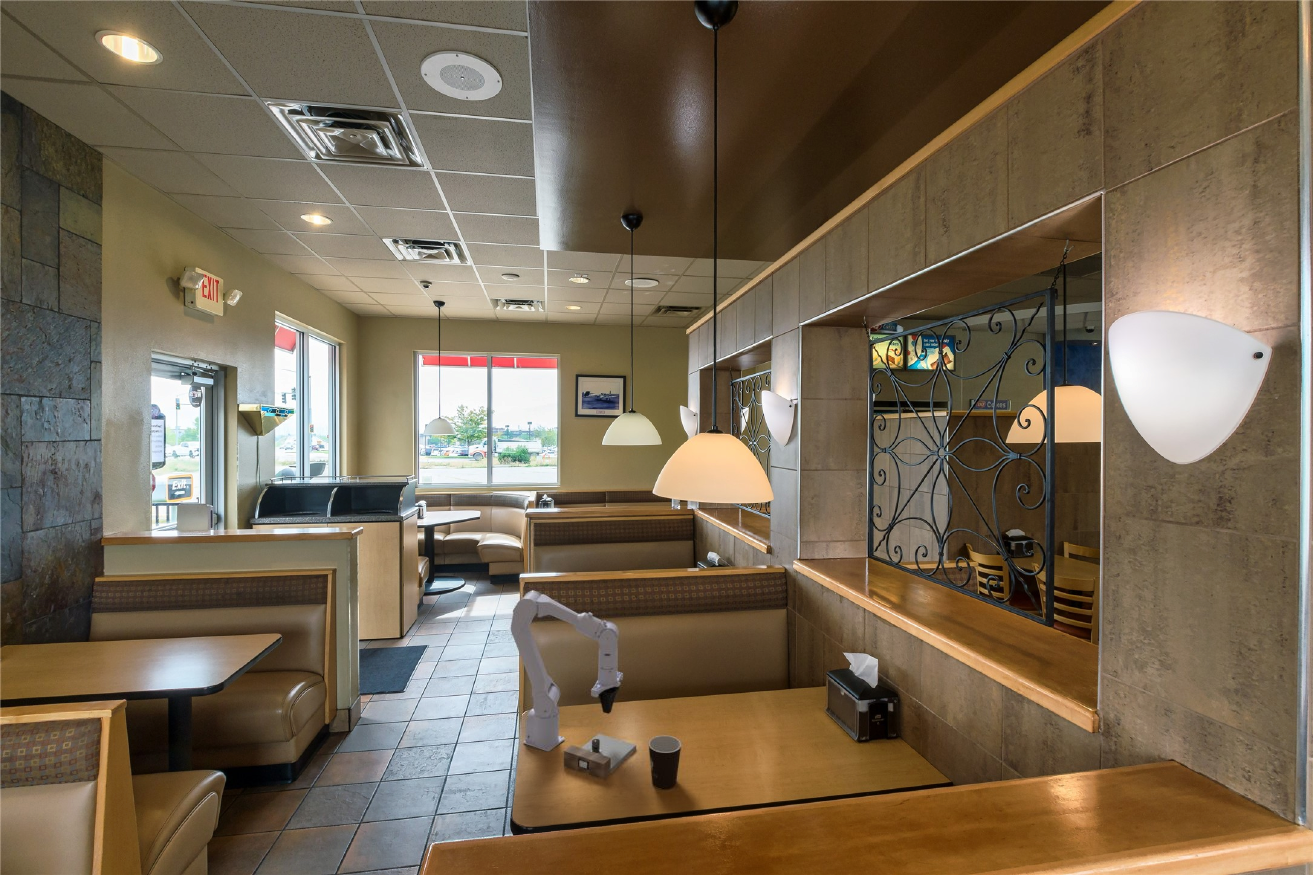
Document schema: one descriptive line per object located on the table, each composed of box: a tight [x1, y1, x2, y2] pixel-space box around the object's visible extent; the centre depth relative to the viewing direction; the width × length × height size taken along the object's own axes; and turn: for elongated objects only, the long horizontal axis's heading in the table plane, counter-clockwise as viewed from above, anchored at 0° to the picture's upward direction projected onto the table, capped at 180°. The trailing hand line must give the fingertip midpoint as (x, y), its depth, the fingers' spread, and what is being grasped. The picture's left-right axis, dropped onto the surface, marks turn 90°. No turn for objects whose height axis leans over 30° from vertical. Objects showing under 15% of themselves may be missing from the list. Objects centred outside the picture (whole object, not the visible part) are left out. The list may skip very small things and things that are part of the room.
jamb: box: [563, 744, 612, 781], centre depth 152 cm, size 13×4×4 cm, turn 63°
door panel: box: [581, 733, 637, 773], centre depth 159 cm, size 13×14×3 cm
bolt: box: [579, 738, 601, 769], centre depth 153 cm, size 2×7×4 cm, turn 153°
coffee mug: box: [648, 734, 682, 790], centre depth 148 cm, size 12×9×10 cm
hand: (606, 712), depth 165 cm, fingers closed
